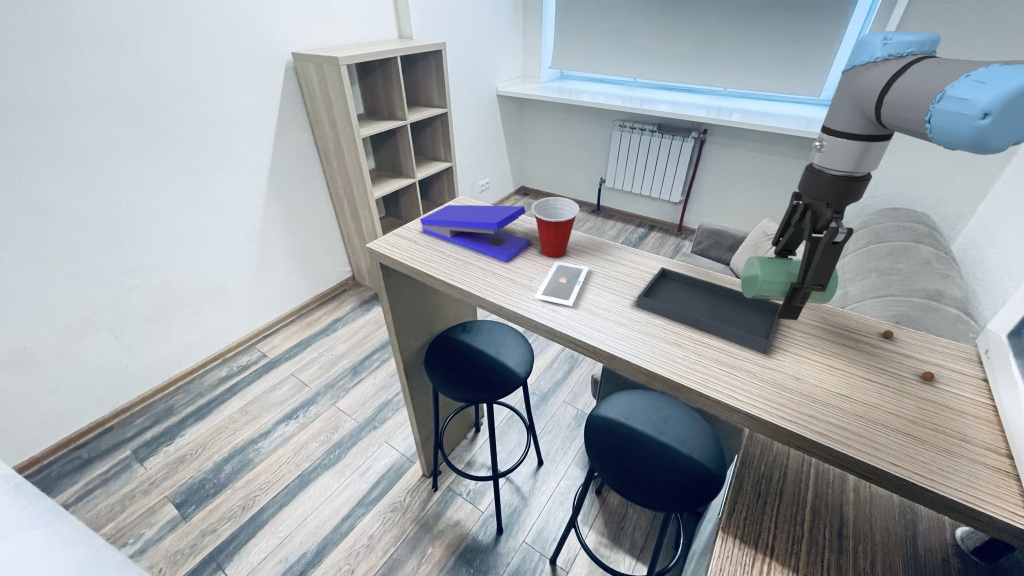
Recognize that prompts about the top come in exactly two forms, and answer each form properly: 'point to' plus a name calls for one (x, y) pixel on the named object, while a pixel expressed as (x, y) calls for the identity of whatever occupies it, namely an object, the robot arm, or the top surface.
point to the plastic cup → (555, 224)
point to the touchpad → (562, 283)
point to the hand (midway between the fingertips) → (778, 303)
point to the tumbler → (778, 279)
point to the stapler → (477, 228)
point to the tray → (712, 309)
